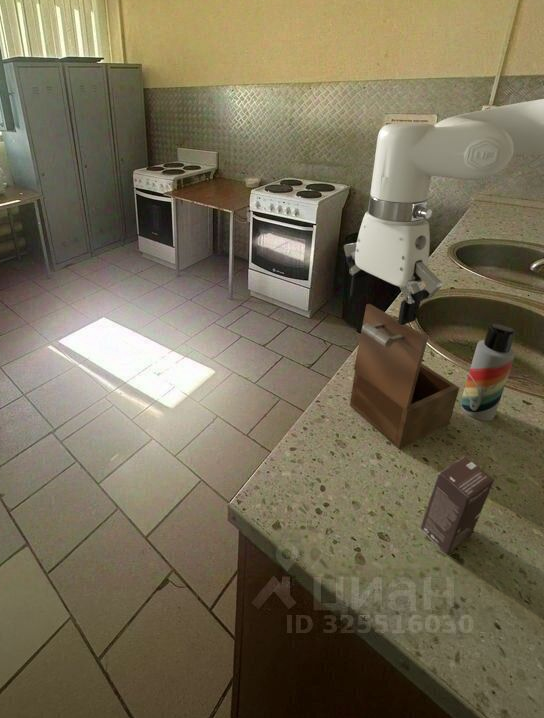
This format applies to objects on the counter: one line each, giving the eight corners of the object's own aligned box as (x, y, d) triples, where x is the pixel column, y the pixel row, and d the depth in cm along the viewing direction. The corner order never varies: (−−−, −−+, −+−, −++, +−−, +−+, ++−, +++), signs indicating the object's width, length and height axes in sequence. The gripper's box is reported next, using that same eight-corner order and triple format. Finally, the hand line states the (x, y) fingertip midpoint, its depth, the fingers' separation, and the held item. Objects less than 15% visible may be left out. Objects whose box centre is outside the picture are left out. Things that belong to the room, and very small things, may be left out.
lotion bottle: (456, 410, 80) (479, 326, 72) (464, 396, 83) (488, 314, 76) (490, 426, 76) (518, 339, 68) (497, 411, 79) (525, 326, 72)
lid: (369, 303, 74) (349, 308, 72) (428, 337, 63) (406, 344, 61) (356, 368, 78) (337, 374, 76) (409, 408, 68) (388, 417, 66)
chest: (397, 385, 87) (404, 351, 83) (449, 423, 77) (459, 387, 73) (349, 405, 82) (354, 370, 78) (398, 449, 71) (407, 411, 68)
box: (449, 558, 55) (469, 498, 51) (418, 528, 59) (435, 470, 54) (475, 537, 57) (496, 478, 53) (444, 510, 61) (461, 453, 57)
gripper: (471, 219, 53) (446, 328, 59) (368, 193, 68) (357, 282, 74) (433, 229, 50) (411, 341, 56) (334, 199, 65) (325, 290, 71)
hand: (380, 307), depth 65 cm, fingers open, 9 cm apart
